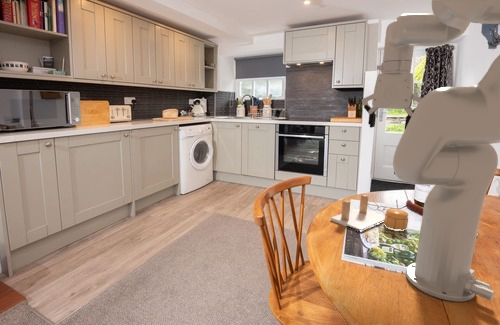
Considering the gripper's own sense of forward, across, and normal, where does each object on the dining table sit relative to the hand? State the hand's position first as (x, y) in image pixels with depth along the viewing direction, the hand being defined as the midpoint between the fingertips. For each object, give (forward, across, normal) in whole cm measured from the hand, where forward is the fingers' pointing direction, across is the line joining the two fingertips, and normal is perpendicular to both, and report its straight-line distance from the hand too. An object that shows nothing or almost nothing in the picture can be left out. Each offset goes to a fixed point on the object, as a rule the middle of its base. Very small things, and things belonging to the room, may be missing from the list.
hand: (388, 128), depth 88 cm
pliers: (+31, +11, +18) cm, 38 cm away
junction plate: (+30, -5, -2) cm, 31 cm away
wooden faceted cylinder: (+30, +6, -1) cm, 31 cm away
